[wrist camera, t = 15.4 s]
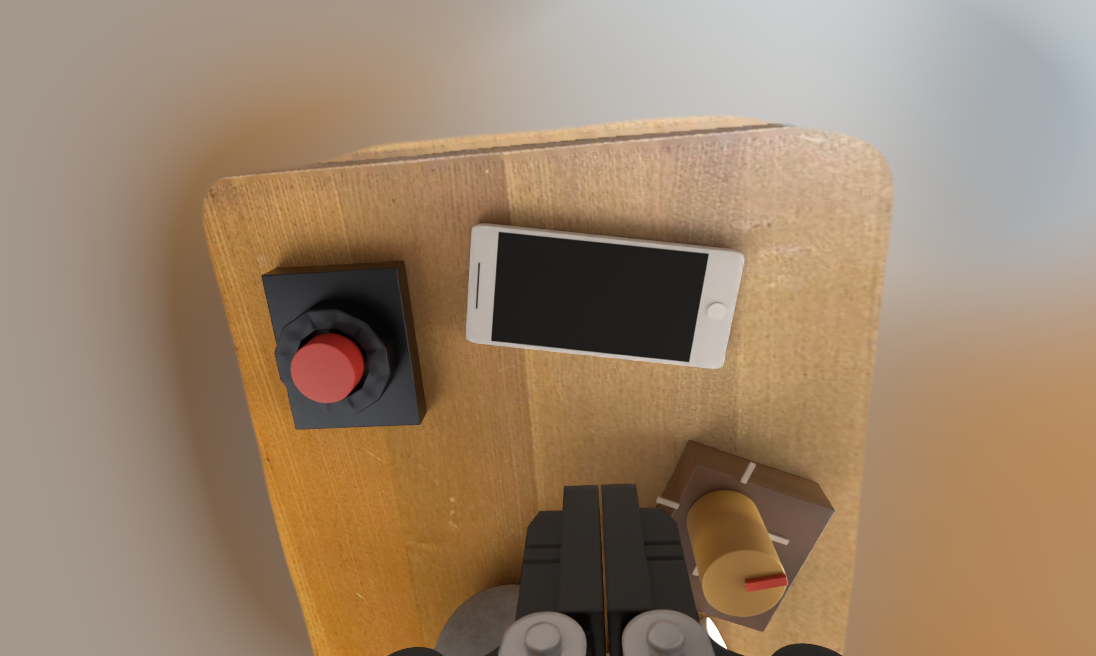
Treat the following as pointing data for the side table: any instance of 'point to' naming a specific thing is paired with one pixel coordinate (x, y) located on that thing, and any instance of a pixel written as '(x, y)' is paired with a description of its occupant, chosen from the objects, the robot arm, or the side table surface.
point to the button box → (365, 318)
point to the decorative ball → (479, 622)
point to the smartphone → (601, 295)
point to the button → (327, 367)
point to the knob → (734, 554)
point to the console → (780, 498)
